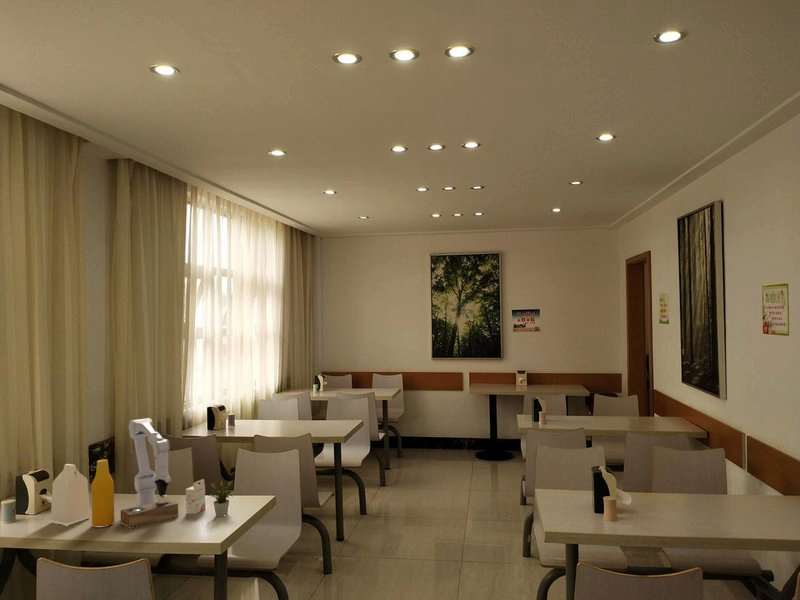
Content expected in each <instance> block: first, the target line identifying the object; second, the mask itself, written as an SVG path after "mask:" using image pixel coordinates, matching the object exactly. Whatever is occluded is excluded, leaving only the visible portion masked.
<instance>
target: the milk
mask: <svg viewBox="0 0 800 600" xmlns="http://www.w3.org/2000/svg"><path fill="white" fill-rule="evenodd" d="M89 495H90V494H89V481H88V478H87V477H86V476H85V475H83V474H82V473H80V471H78V469H77V467H76V464H71V463H70V464H69V463H66V464H64V466H63V470H61V472H60V473H59V474H58V475H57V477H55V479H54V480H53V482H52V490H51V510H50V521H51V520H54V521H58V522H62V523H70V522H73V521H76V520H79V519H82V518H86V517H89V516H90V517H91V508H90V496H89Z"/></svg>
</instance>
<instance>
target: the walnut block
mask: <svg viewBox="0 0 800 600" xmlns="http://www.w3.org/2000/svg"><path fill="white" fill-rule="evenodd" d="M134 509H141V510H140V511H136V512H132V510H134ZM177 516H178V517H179V503H178V502H175V501H173V500H170V499H168V498H167V504H165V505H161V506H159V505H158V501H155V502H153V503H149V504H145V505H141V506H132V507H129V508H125V509H120V523H121V522H122V523H123V524H125V525H127V526H128V527H130V528H131V529H133V528H132V527H135V528H137V527H136V526H139V527H142V526H141V525H143V526H146V525H145V524H147V525H150V524H149V523H151V524H154V523H158V522H161V520H162V521H166V520H170V519H173V517H174V518H176V517H177ZM169 518H170V519H169ZM165 519H166V520H165ZM157 521H158V522H157ZM153 522H154V523H153ZM128 527H127V528H128ZM130 528H129V529H130Z"/></svg>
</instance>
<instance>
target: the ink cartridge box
mask: <svg viewBox="0 0 800 600" xmlns="http://www.w3.org/2000/svg"><path fill="white" fill-rule="evenodd" d="M185 505H186V506H185V507H186V511H185V513H186V515H187V514H188V515H196V514H198V513H200V512H203V511H204V510H206V484H205V479H204V478H202V479H200V480H197V481H195V482H193V483H192V486H190V487H187V488H185Z"/></svg>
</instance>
